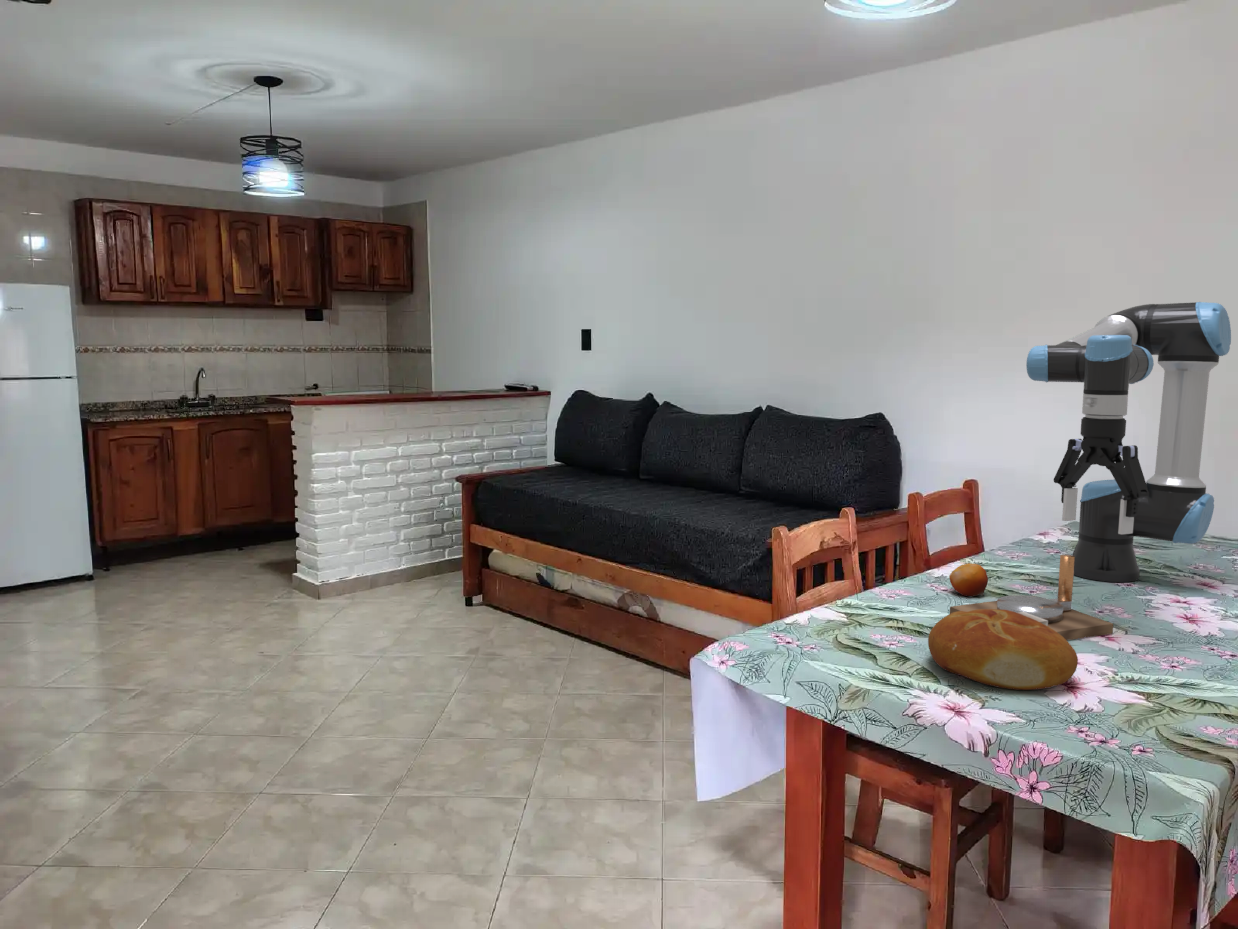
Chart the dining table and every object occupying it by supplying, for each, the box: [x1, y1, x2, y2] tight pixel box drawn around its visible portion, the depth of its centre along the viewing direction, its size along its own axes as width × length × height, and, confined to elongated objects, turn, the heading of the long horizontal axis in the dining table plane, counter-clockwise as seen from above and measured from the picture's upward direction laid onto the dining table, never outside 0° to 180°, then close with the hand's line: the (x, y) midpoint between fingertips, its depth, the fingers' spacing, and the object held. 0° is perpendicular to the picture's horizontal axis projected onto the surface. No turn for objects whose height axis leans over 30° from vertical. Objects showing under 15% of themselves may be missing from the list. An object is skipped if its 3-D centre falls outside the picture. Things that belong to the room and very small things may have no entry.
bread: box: [927, 609, 1079, 691], centre depth 151 cm, size 23×23×10 cm
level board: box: [949, 595, 1114, 641], centre depth 176 cm, size 22×20×4 cm
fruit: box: [949, 562, 989, 597], centre depth 198 cm, size 8×8×8 cm
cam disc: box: [996, 554, 1075, 623], centre depth 176 cm, size 16×12×11 cm
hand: (1096, 526), depth 170 cm, fingers open, 12 cm apart
